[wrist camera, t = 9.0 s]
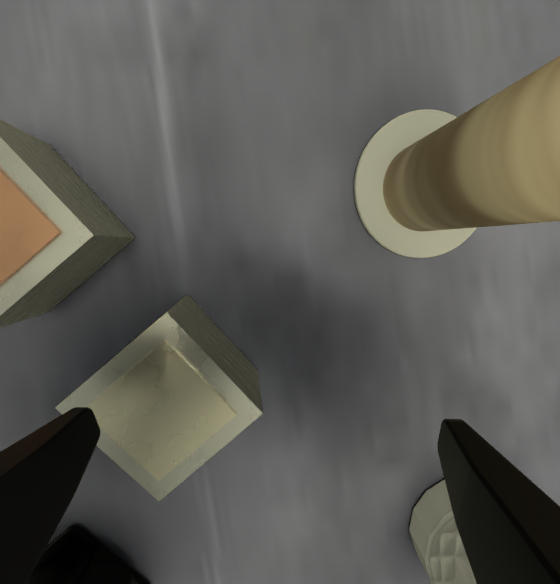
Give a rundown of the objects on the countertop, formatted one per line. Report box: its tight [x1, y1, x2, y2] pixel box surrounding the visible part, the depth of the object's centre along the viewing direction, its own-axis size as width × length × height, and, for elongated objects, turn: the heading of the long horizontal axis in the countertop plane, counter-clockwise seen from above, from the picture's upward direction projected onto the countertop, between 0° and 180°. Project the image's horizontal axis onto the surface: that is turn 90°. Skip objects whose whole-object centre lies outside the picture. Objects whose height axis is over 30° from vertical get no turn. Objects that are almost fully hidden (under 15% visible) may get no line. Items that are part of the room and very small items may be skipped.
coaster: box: [354, 109, 477, 258], centre depth 19 cm, size 8×8×1 cm
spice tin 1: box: [0, 119, 135, 328], centre depth 15 cm, size 6×6×5 cm
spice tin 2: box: [55, 294, 263, 502], centre depth 16 cm, size 6×6×5 cm
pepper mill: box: [383, 56, 560, 231], centre depth 11 cm, size 5×5×14 cm
